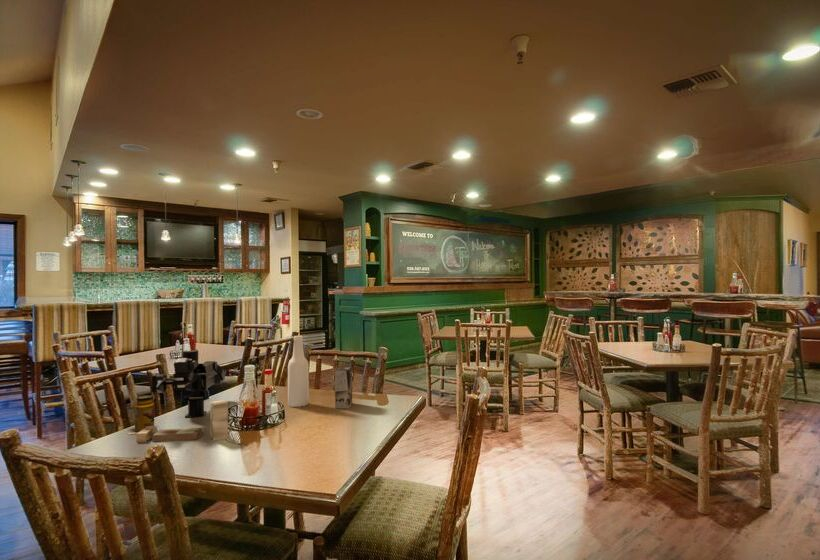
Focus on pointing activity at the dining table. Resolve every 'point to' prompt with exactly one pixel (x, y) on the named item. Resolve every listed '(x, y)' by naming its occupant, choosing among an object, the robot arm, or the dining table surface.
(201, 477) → the dining table surface
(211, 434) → the birch post
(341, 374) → the coffee box
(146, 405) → the condiment
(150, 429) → the lintel
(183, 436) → the flat wooden block
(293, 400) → the alcohol
